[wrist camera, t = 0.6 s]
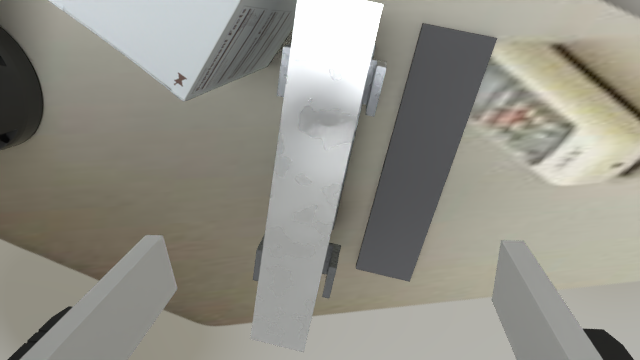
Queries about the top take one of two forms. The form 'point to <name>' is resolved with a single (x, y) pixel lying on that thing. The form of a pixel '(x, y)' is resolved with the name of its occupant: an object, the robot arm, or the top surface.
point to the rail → (311, 160)
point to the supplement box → (189, 36)
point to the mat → (423, 146)
